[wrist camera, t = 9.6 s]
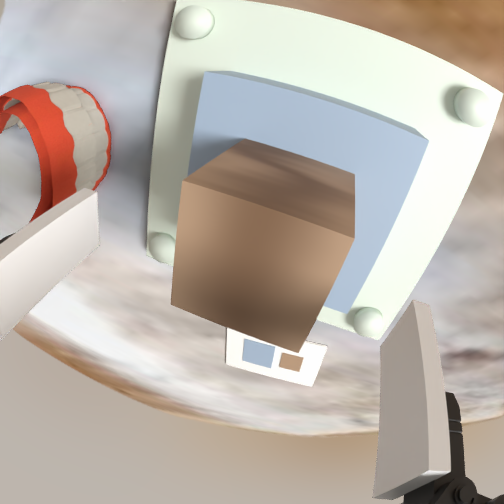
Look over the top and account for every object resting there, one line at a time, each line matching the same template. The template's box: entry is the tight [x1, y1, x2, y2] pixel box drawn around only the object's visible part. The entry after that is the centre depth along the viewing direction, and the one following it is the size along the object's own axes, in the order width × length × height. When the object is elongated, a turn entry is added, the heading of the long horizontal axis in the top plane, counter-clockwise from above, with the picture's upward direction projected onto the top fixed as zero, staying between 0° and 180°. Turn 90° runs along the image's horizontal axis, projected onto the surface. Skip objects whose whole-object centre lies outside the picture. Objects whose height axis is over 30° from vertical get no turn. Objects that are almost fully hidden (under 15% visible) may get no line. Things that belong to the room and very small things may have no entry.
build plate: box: [147, 0, 503, 340], centre depth 21 cm, size 22×22×2 cm
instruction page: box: [226, 328, 328, 387], centre depth 32 cm, size 10×7×1 cm
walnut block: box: [171, 138, 355, 353], centre depth 15 cm, size 6×6×7 cm
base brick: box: [187, 71, 429, 314], centre depth 19 cm, size 12×12×4 cm
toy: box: [0, 82, 111, 223], centre depth 22 cm, size 12×10×8 cm
